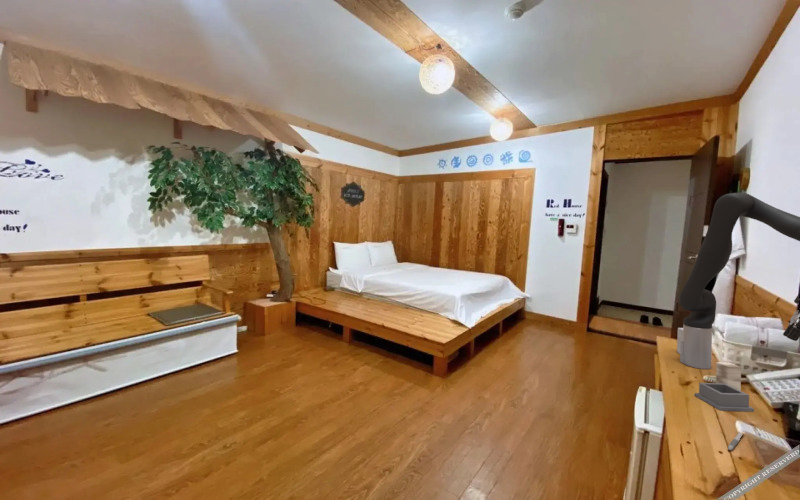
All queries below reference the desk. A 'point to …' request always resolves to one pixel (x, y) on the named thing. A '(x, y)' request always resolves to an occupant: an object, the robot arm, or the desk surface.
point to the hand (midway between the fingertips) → (789, 338)
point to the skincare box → (679, 339)
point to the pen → (734, 441)
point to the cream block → (728, 374)
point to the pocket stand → (724, 397)
